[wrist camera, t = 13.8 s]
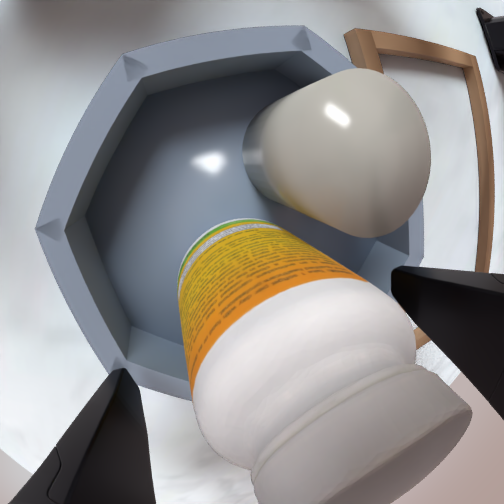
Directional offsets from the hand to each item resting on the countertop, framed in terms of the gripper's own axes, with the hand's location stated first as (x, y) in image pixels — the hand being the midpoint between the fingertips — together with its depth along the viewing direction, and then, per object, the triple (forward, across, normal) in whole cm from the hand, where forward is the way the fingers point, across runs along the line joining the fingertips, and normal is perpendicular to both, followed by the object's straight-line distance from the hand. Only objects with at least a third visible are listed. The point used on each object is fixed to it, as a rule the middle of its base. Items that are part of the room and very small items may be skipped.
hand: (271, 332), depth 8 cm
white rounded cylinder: (+4, -4, -4) cm, 7 cm away
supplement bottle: (+4, 0, 0) cm, 4 cm away
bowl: (+5, -1, -2) cm, 5 cm away
